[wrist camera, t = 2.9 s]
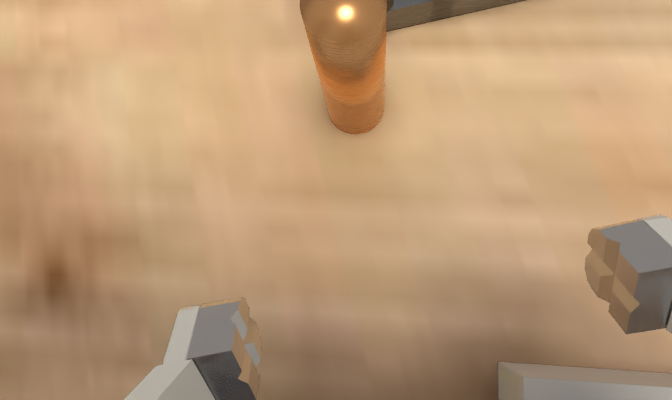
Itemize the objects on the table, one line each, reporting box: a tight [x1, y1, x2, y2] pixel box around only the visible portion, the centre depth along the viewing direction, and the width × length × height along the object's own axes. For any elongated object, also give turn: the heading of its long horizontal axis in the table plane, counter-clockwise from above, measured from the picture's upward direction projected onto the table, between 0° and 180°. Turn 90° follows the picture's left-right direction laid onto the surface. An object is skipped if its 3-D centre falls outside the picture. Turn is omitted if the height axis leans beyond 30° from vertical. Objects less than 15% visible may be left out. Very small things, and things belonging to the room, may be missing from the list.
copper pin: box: [300, 0, 387, 134], centre depth 22 cm, size 3×3×10 cm
